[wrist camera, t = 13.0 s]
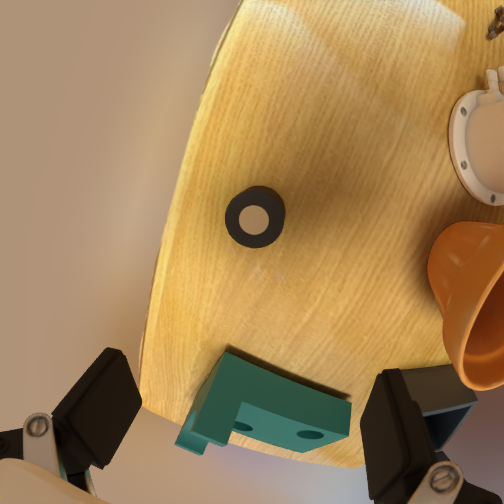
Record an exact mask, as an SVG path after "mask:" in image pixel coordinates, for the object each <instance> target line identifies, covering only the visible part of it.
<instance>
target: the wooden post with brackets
mask: <svg viewBox="0 0 504 504" xmlns="http://www.w3.org/2000/svg"><path fill="white" fill-rule="evenodd" d="M495 12H496V13H497V14H498V15H499V16H500V21H501V23H502V24H501V25H500V26H499V27H498V28H497V27H496V26H495V25H494V24H493V25H491V26H490V28H489V30H490V31H491V33H490V34H489V35H488V37H489V39H490V40H492V39H494V38H496V37H497V36H498V35H499V34H500V33H501V32H503V31H504V7H503V6H502V5H501V6H500V7H499V8H497V9H496V10H495Z"/></svg>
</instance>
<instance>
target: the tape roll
mask: <svg viewBox="0 0 504 504" xmlns="http://www.w3.org/2000/svg"><path fill="white" fill-rule="evenodd" d="M284 218H285V207H284V203H283V201H282V199H281V197H280V196H279V195H278V194H277V193H276V192H275V191H273V190H272V189H270V188H267V187H264V186H254V187H250V188H248V189H246V190H244V191H243V192H241V193H240V194H238V195H237V196H236V197H235V198H233V199H232V201H231V202H230V203H229V205H228V207H227V209H226V213H225V224H226V228H227V230H228V232H229V234H230V235H231V237H232V238H233V239H234V240H235V241H236V242H238V243H239V244H241V245H243V246H245V247H249V248H262V247H265V246H268V245H270V244H271V243H273V242H274V241H275V240H276V239H277V238H278V237H279V235H280V233H281V232H282V229H283V225H284Z"/></svg>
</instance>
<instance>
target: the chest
mask: <svg viewBox="0 0 504 504" xmlns="http://www.w3.org/2000/svg"><path fill="white" fill-rule="evenodd" d="M400 371H401V373H402V375H403V378H404V381H405V383H406V386H407V388H408V391H409V394H410V396H411V399H412V401H416V402H418V404H419V406H420V409H421V412H422V414H423V417H424V420H425V423H426V426H427V429H428V432H429V435H430V438H431V441H432V444H433V447H434V450H435V452H436V451H439V450H441V449H442V448H443V447H444V446H445V445H446V444H447V442H448V441H449V440H450V439H451V437H452V436H453V435H454V434H455V432H456V431H457V430H458V429H459V427H460V426H461V425H462V423H463V422H464V420H465V419H466V418H467V416H468V415H469V414H470V412H471V411H472V409H473V408H474V406H475V405H476V403H477V402H478V399H477V397H476V395H475V393H474V392H473V389H471V388H468V387H467V386H466V385H465V384H464V383H463V382H462V381H461V379H460V377H459V375H458V373H457V371H456V369H455V368H454V366H453V364H451V365H444V366H437V367H428V368H419V369H409V370H400Z"/></svg>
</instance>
